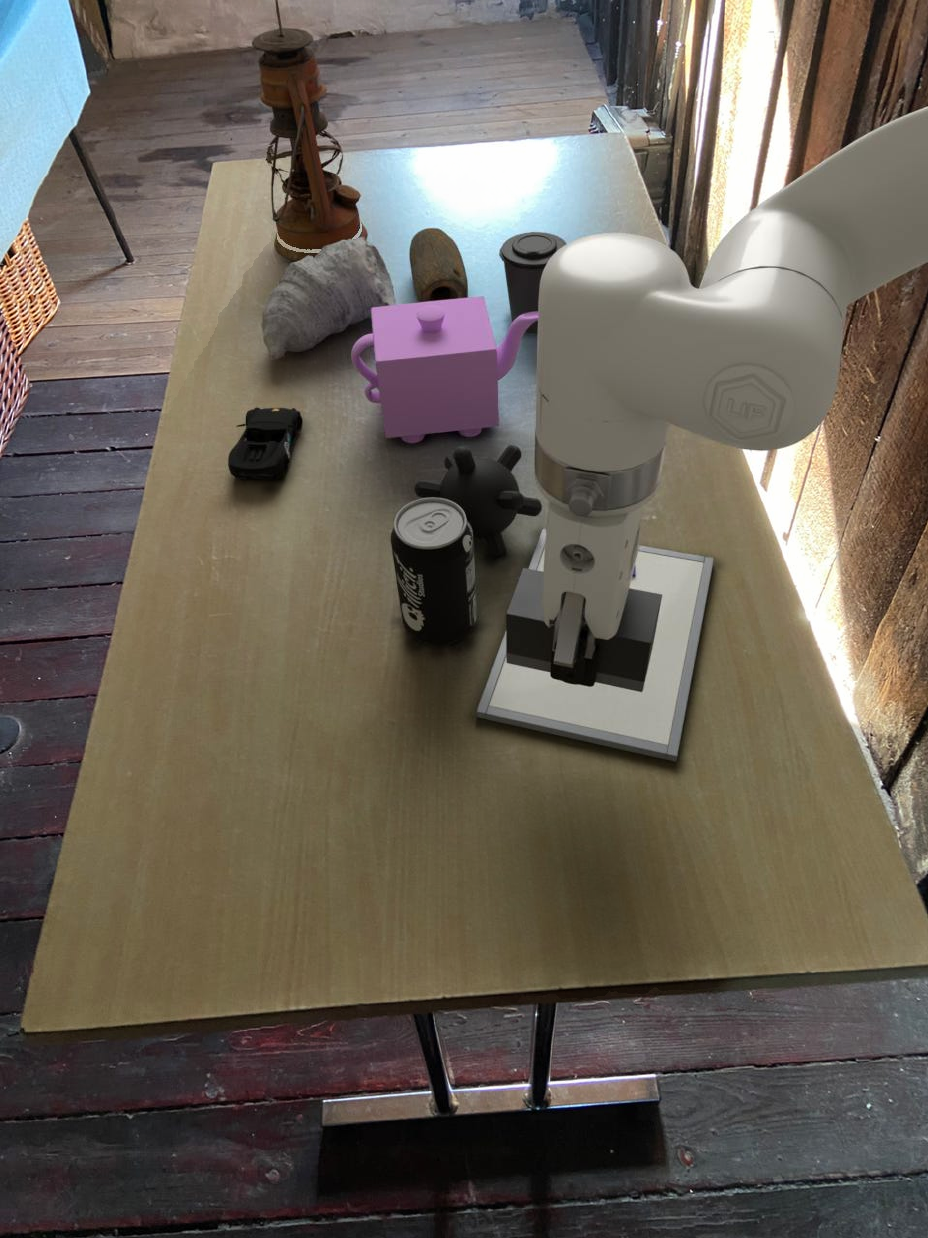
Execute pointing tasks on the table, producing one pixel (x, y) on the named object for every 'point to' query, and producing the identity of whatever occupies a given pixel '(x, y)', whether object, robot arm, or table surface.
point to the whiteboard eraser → (583, 635)
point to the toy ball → (483, 493)
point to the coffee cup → (527, 270)
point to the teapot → (437, 366)
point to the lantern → (303, 147)
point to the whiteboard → (608, 709)
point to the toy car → (265, 443)
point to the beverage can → (435, 570)
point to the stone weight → (437, 267)
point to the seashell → (325, 296)
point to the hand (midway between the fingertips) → (581, 650)
